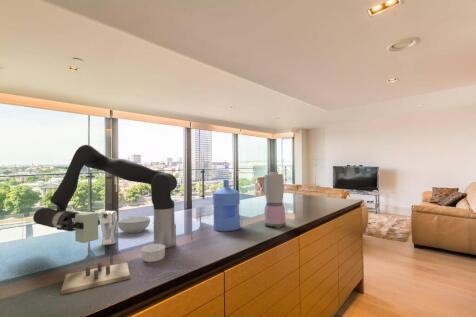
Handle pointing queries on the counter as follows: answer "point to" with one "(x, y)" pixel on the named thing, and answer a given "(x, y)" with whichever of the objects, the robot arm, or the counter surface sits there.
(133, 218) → the cereal bowl
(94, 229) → the green block
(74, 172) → the robot arm
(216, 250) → the counter surface
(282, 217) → the blender
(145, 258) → the ramekin
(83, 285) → the peg board
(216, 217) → the water jug
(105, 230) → the beer glass
